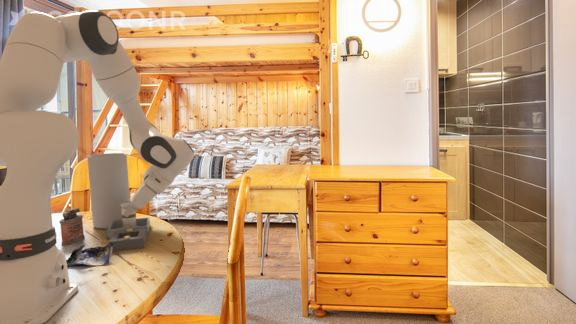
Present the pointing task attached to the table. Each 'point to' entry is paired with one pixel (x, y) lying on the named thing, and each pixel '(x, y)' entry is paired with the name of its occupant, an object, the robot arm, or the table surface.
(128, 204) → the ball
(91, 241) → the table surface
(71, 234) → the lighter
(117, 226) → the tray
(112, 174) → the cylinder vase
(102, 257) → the snack package
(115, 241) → the block
